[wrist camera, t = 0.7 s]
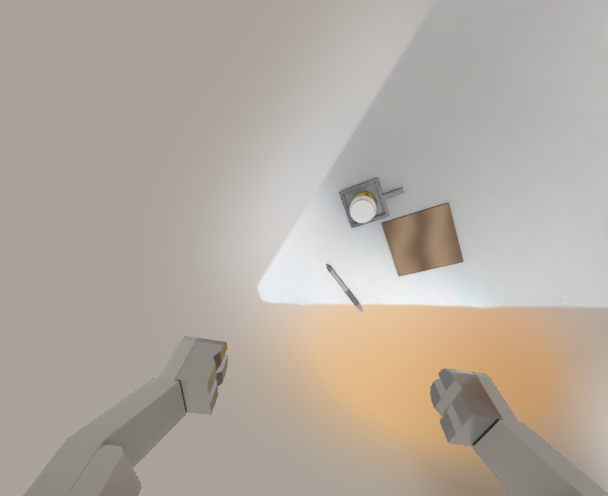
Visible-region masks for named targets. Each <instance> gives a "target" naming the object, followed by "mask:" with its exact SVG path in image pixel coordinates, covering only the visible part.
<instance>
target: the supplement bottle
mask: <svg viewBox="0 0 608 496" xmlns="http://www.w3.org/2000/svg"><path fill="white" fill-rule="evenodd" d="M349 211H350V214H351V217H352V219H353V220H354V221H356V222H358V223H366V222H368V221H370V220H371V219H372V218H373V217H374V216H375V214H376V211H377V201H376V198H375V196H374V195H373V194H371V193H370V192H360V193H358V194H357V195H356V196H355V197H354V198H353V200H352V202H351V204H350V207H349Z"/></svg>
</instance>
